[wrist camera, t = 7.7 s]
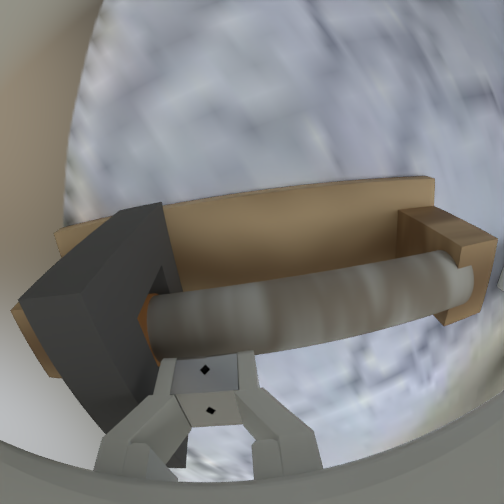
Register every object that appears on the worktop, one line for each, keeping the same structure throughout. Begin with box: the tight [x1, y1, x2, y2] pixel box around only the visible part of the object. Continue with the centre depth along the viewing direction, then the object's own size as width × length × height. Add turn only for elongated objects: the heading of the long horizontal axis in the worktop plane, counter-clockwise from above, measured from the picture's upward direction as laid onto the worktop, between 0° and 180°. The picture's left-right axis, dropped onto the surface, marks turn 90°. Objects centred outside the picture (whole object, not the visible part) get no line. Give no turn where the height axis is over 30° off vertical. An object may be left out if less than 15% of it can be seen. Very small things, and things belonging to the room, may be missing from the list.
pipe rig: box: [11, 176, 498, 378], centre depth 14 cm, size 8×24×8 cm, turn 97°
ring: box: [18, 202, 188, 468], centre depth 12 cm, size 9×2×9 cm, turn 7°
